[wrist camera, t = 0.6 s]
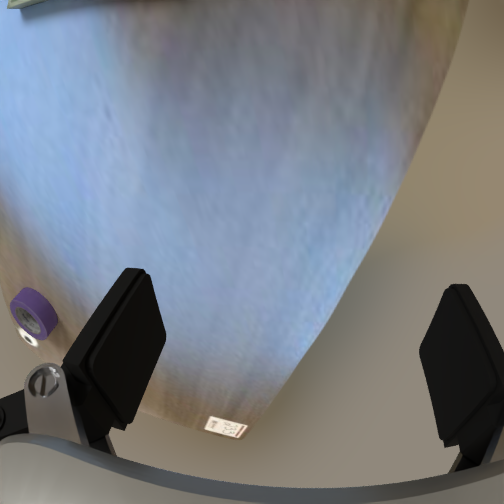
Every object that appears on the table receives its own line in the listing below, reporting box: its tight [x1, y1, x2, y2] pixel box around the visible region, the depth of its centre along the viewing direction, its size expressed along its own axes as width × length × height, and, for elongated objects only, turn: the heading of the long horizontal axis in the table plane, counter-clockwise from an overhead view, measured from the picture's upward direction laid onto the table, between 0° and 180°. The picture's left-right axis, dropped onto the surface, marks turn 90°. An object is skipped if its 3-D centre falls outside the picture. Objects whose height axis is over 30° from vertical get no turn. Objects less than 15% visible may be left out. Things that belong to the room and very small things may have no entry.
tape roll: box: [10, 288, 58, 340], centre depth 57 cm, size 12×12×5 cm
